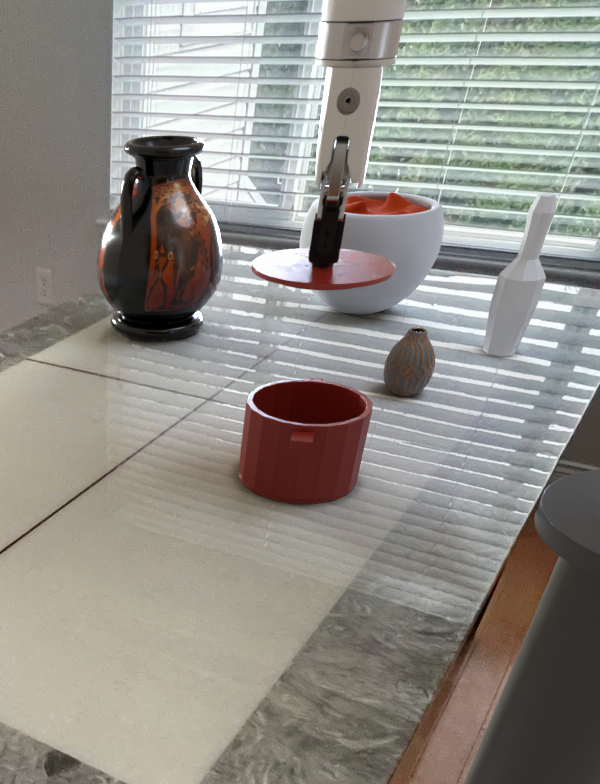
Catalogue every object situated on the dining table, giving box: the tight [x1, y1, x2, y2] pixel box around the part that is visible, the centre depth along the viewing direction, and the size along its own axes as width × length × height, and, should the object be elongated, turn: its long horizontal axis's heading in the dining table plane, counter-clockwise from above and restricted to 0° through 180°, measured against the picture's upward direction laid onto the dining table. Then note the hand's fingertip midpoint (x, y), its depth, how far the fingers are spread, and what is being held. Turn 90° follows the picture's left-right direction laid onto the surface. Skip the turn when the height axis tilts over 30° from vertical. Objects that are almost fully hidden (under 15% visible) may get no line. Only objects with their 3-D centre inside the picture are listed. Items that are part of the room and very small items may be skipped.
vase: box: [383, 326, 436, 397], centre depth 122 cm, size 7×7×9 cm
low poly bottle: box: [482, 192, 557, 357], centre depth 129 cm, size 6×6×22 cm
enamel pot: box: [237, 377, 374, 505], centre depth 102 cm, size 14×20×10 cm
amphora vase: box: [96, 134, 224, 342], centre depth 141 cm, size 22×22×28 cm
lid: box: [251, 208, 395, 291], centre depth 92 cm, size 15×15×7 cm
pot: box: [298, 190, 445, 315], centre depth 150 cm, size 24×24×18 cm
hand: (323, 256), depth 93 cm, fingers closed on lid, 2 cm apart
